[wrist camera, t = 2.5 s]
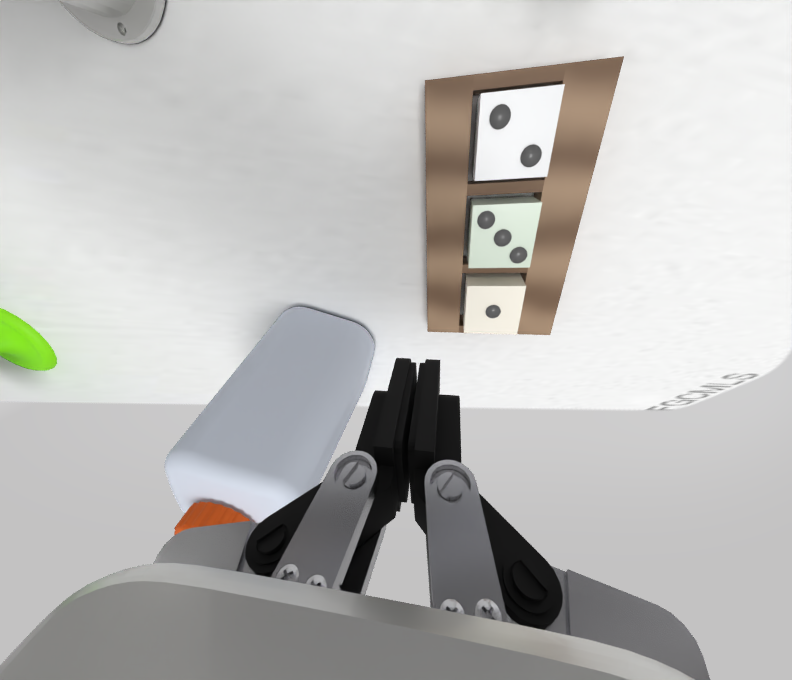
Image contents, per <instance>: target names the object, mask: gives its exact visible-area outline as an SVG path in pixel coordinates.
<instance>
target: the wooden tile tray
mask: <svg viewBox="0 0 792 680" xmlns="http://www.w3.org/2000/svg"><path fill="white" fill-rule="evenodd" d="M623 58H624V56H623V57H615V58H607V59H599V60H590V61H582V62H574V63H565V64H557V65H549V66H541V67H532V68H524V69H516V70H508V71H499V72H491V73H483V74H475V75H466V76H458V77H450V78H441V79H433V80H425V124H426V221H427V319H428V332H460V333H464V326H463V315H460V301H461V284H462V273H520V275H521V277H522V279H523V281H524V283H525V285H526V290H525V295H524V301H523V306H522V311H521V316H520V322H519V327H518V332H517V334H534V335H550V333H551V329H552V326H553V322H554V318H555V314H556V311H557V307H558V303H559V299H560V296H561V292H562V288H563V284H564V280H565V277H566V273H567V269H568V265H569V262H570V258H571V254H572V250H573V247H574V243H575V239H576V235H577V232H578V228H579V224H580V220H581V216H582V213H583V209H584V205H585V201H586V198H587V194H588V190H589V186H590V183H591V179H592V175H593V171H594V167H595V164H596V160H597V156H598V152H599V149H600V145H601V141H602V137H603V134H604V130H605V126H606V122H607V119H608V115H609V111H610V107H611V103H612V100H613V96H614V92H615V88H616V85H617V81H618V77H619V73H620V70H621V66H622V62H623ZM562 84H565V86H564V91H563V96H562V102H561V107H560V112H559V117H558V122H557V128H556V133H555V138H554V143H553V149H552V154H551V159H550V164H549V170H548V175H547V177H534V178H517V179H501V180H484V181H468V166H469V149H470V132H471V115H472V98H473V95H479V94H481V93H489V92H498V91H507V90H516V89H525V88H534V87H544V86H553V85H562ZM531 192H534V197H535V198H536V199H538V200H539V201H541V202H542V206H541V212H540V217H539V222H538V227H537V232H536V238H535V243H534V248H533V253H532V259H531V264H530V268H468V260H467V256H463V250H464V233H465V216H466V200H467V196H473V195H493V194H512V193H531Z"/></svg>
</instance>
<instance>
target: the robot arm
mask: <svg viewBox="0 0 792 680" xmlns="http://www.w3.org/2000/svg"><path fill="white" fill-rule="evenodd" d="M58 1H59V2H60V3H61V4H62V6H63V7H64V8H65V9H66V10H67V11H68V12H69V13H70V14H71V15H72V16H73V17H74V18H75V19H76V20H77V21H79V22H80V23H81V24H83V25H84V26H85V27H86V28H88V29H89V30H91V31H92V32H94V33H96V34H98V35H99V36H101V37H104V38H107V39H109V40H112V41H115V42H120V43H125V44H132V43H139V42H141V41H143V40H145V39H147V38H148V37H149V36H150V35H151V34H152V33H153V32H154V31H155V30H156V28H157V26H158V24H159V22H160V21H161V17H162V14H163V10H164V7H165V0H58ZM439 392H440V360H429V359H426V361H425V363H420V366H419V373H418V380H417V372H416V363H412V362H411V359H406V358H396V361H395V365H394V368H393V372H392V376H391V380H390V384H389V387H388V391H375V392H374V394H373V396H372V399H371V403H370V406H369V409H368V412H367V415H366V419H365V421H364V425H363V428H362V431H361V434H360V437H359V440H358V444H357V447H356V450H355V451H350V452H347V453H345V454H343V455H341V456H340V457H339V458H337V459H336V460H335V462H334V463H333V464H332V466H331V467H330V469H329V471H328V473H327V475H326V477H325V479H324V480H323V482H322V483H320V484H318V485H317V486H315V487H314V488H312V489H311V490H309V491H307V492H306V493H304V494H303V495H301V496H300V497H298V498H297V499H295V500H293V501H292V502H290V503H289V504H287V505H286V506H284V507H282V508H281V509H279V510H278V511H276V512H275V513H273V514H272V515H270V516H268V517H267V518H265V519H264V520H263V521H262V522H260V523H253V521H244V522H235V523H227V524H219V525H211V526H202V527H194V528H189V529H186V530H183V531H181V532H179V533H178V534H176V535H175V536H173V537H172V538H171V539H170V540H169V541H168V542H167V543H166V544H165V545H164V546H163V548H162V549H161V551H160V552H159V554H158V556H157V557H156V560H155V561H154V563H153V564H148V565H142V566H137V567H133V568H129V569H125V570H122V571H119V572H116V573H113V574H110V575H108V576H106V577H103V578H101V579H99V580H97V581H95V582H92V583H90V584H88V585H86V586H85V587H83V588H82V589H80V590H78V591H77V592H75V593H74V594H72V595H71V596H70V597H69V598H67V599H66V600H65V601H63V602H62V603H61V604H60V605H59V606H58V607H57V608H56V609H55V610H53V611H52V612H51V613H50V614H49V615H48V616H47V617H46V618H45V619H44V620H43V621H42V622H41V623H40V624H39V625H38V626H37V627H36V628H35V629H34V630H33V631H32V632H31V633H30V634H29V635H28V636H27V637H26V638H25V639H24V640H23V642H22V643H21V644H20V645H19V646H18V647H17V648H16V649H15V650H14V651H13V652H12V653H11V654H10V655H9V656H8V658H7V659H6V660H5V661H4V662H3V663H2V664H1V665H0V680H710V678H709V675H708V671H707V668H706V664H705V661H704V658H703V655H702V653H701V651H700V649H699V646H698V644H697V642H696V640H695V639H694V637H693V636H692V635H691V633H690V632H689V631H688V629H687V628H686V627H685V625H684V624H683V623H682V622H680V621H679V620H678V619H677V618H676V617H675V616H674V615H673V614H672V613H670V612H669V611H667V610H665V609H663V608H661V607H660V606H658V605H656V604H653V603H651V602H648V601H646V600H643V599H641V598H638V597H636V596H633V595H631V594H628V593H626V592H623V591H621V590H618V589H616V588H613V587H611V586H608V585H606V584H603V583H601V582H598V581H596V580H593V579H591V578H588V577H586V576H583V575H581V574H578V573H576V572H573V571H571V570H567V571H566V572H565V571H562V570H560V569H557V568H555V567H552V566H550V565H549V563H548V562H547V561H546V560H545V559H544V558H543V557H542V556H541V555H540V554H539V553H538V552H537V551H536V550H535V549H534V548H533V547H532V546H531V545H530V544H529V543H528V542H527V541H526V540H525V539H524V538H523V537H522V536H521V535H520V534H519V533H518V532H517V531H516V530H515V529H514V528H513V527H512V526H511V525H510V524H509V523H508V522H507V521H506V520H505V519H504V518H503V517H502V516H501V515H500V514H499V513H498V512H497V511H496V510H495V509H494V508H493V507H492V506H491V505H490V504H489V503H488V502H487V501H486V500H485V499H484V498H483V497H482V496H481V495H480V494H479V492H478V487H477V483H476V480H475V477H474V475H473V473H472V472H471V471H470V470H469V468H467V467H466V466H465V465H463V464H462V463H461V434H460V398H459V396H453V395H439ZM409 483H410V491H411V503H414V511H415V521H416V522H417V523H418V525H419V526H420V527H421V529H422V530H423V532H424V533H425V534H426V546H427V561H428V575H429V591H430V607H431V608H430V607H425V606H420V605H414V604H409V603H404V602H398V601H393V600H388V599H382V598H377V597H372V596H367V595H365V594H366V590H367V587H368V584H369V581H370V578H371V574H372V571H373V568H374V565H375V562H376V559H377V556H378V552H379V549H380V546H381V543H382V540H383V537H384V533H385V530H386V524H388V523H389V522H390V521H391V520H393V519H394V518H395V516H396V511H400V506H401V502H407V498H408V491H409Z"/></svg>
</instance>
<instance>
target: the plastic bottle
mask: <svg viewBox="0 0 792 680" xmlns="http://www.w3.org/2000/svg"><path fill="white" fill-rule="evenodd" d="M373 355H374V342H373V339H372V337H371V335H370V334H369V332H368V331H367V330H366V329H365V328H364V327H362V326H361V325H359V324H357V323H355V322H352V321H349V320H346V319H342V318H339V317H336V316H333V315H329V314H326V313H323V312H320V311H316V310H313V309H310V308H306V307H293V308H290V309H287V310H286V311H284V312H283V313H282V314H281V315H280V316H279V318H278V319H277V320H276V321H275V322H274V324H273V325H272V326H271V327H270V329H269V330H268V331H267V332H266V334H265V335H264V336H263V337H262V338H261V340H260V341H259V342H258V343H257V345H256V346H255V347H254V348H253V350H252V351H251V352H250V353H249V355H248V356H247V357H246V358H245V359H244V361H243V362H242V363H241V364H240V366H239V367H238V368H237V369H236V371H235V372H234V373H233V374H232V375H231V377H230V378H229V379H228V380H227V382H226V383H225V384H224V385H223V387H222V388H221V389H220V390H219V392H218V393H217V394H216V395H215V396H214V398H213V399H212V400H211V401H210V403H209V404H208V405H207V406H206V408H205V409H204V410H203V411H202V413H201V414H200V415H199V416H198V418H197V419H196V420H195V421H194V422H193V424H192V425H191V426H190V427H189V429H188V430H187V431H186V433H184V435H183V436H182V437H181V438H180V440H179V441H178V442H177V443H176V445H175V446H174V447H173V448H172V449H171V451H170V452H169V454H168V455H167V457H166V460H165V471H166V475H167V478H168V481H169V484H170V486H171V489H172V492H173V494H174V496H175V499H176V501H177V503H178V504H179V506H180V508H181V510H182V511H183V513H185V515H184V516H183V517H182V519H181V520H180V521H179V523H178V524H177V525H176V527H175V535H176V534H178V533H179V532H181V531H183V530H186V529H189V528H194V527H202V526H211V525H219V524H227V523H235V522H244V521H253V523H260V522H262V521H263V520H264V519H265V518H267V517H268V516H270V515H272V514H273V513H275V512H276V511H278V510H279V509H281V508H282V507H284V506H286V505H287V504H289V503H290V502H292V501H293V500H295V499H297V498H298V497H300V496H301V495H303V494H304V493H306V492H307V491H309V490H311V489H312V488H314V487H315V486H317V485H318V484H319V483H320V480H321V478H322V476H323V474H324V472H325V470H326V468H327V465H328V463H329V461H330V459H331V457H332V455H333V453H334V451H335V449H336V447H337V444H338V442H339V440H340V438H341V436H342V434H343V432H344V430H345V427H346V425H347V423H348V421H349V419H350V417H351V415H352V413H353V410H354V408H355V406H356V404H357V402H358V400H359V398H360V396H361V394H362V391H363V389H364V387H365V384H366V381H367V377H368V373H369V370H370V366H371V362H372V359H373Z"/></svg>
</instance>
